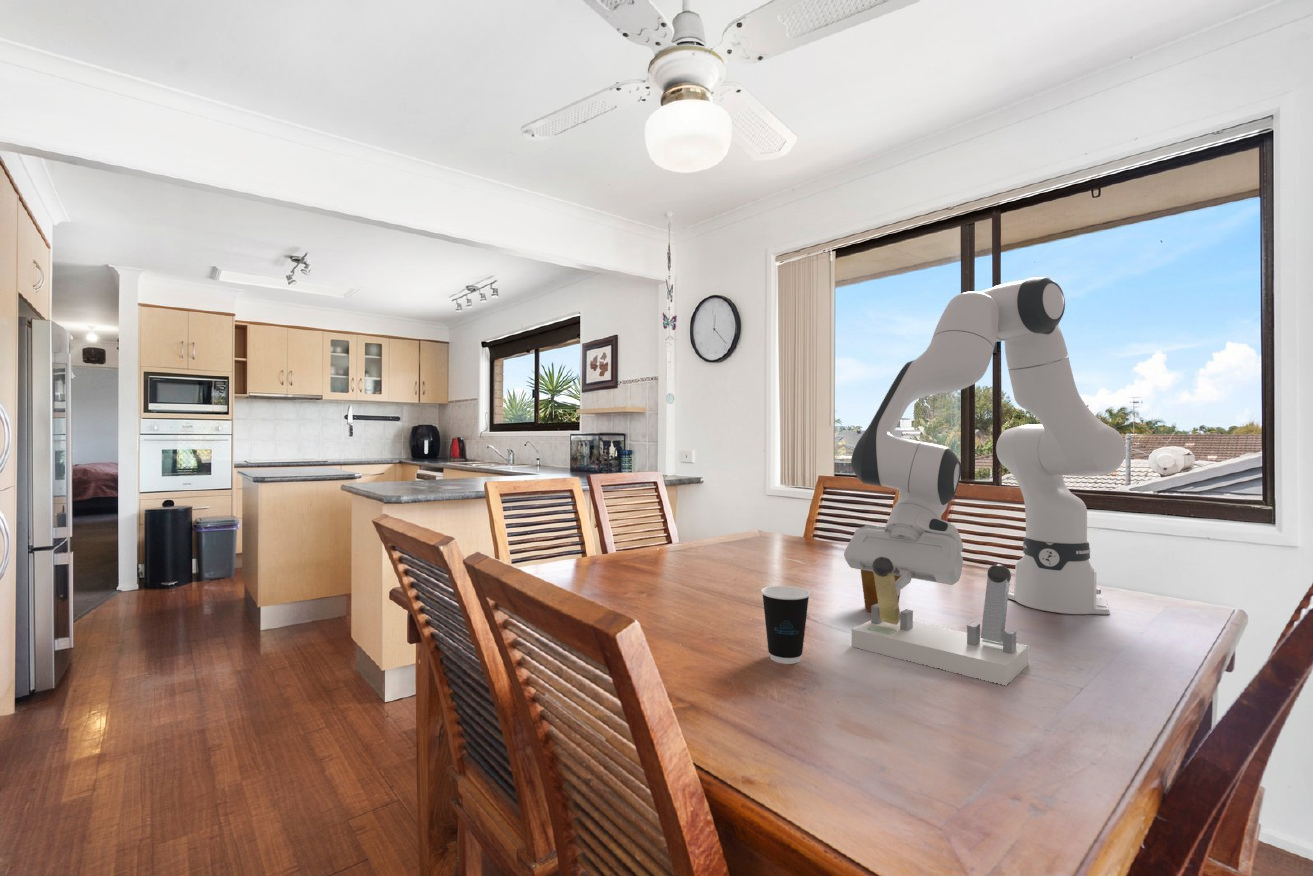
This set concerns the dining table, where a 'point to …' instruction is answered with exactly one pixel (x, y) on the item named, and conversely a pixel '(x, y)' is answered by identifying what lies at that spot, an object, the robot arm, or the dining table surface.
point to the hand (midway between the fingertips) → (888, 593)
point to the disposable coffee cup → (870, 589)
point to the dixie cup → (785, 621)
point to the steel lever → (996, 603)
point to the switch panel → (943, 647)
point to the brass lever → (886, 590)
